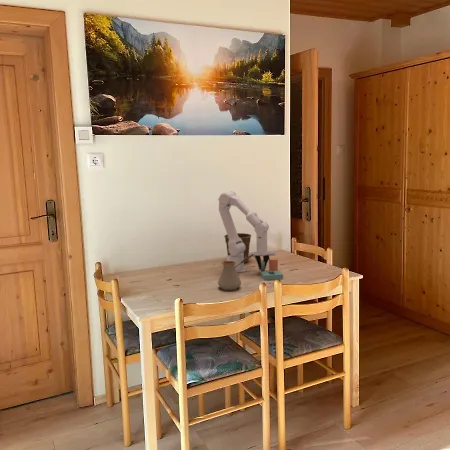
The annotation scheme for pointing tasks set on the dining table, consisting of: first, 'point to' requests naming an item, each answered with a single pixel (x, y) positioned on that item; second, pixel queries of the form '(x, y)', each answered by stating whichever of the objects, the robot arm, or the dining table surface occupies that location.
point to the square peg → (273, 264)
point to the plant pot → (245, 240)
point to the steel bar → (262, 266)
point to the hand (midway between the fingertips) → (262, 269)
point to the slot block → (271, 275)
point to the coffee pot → (230, 275)
